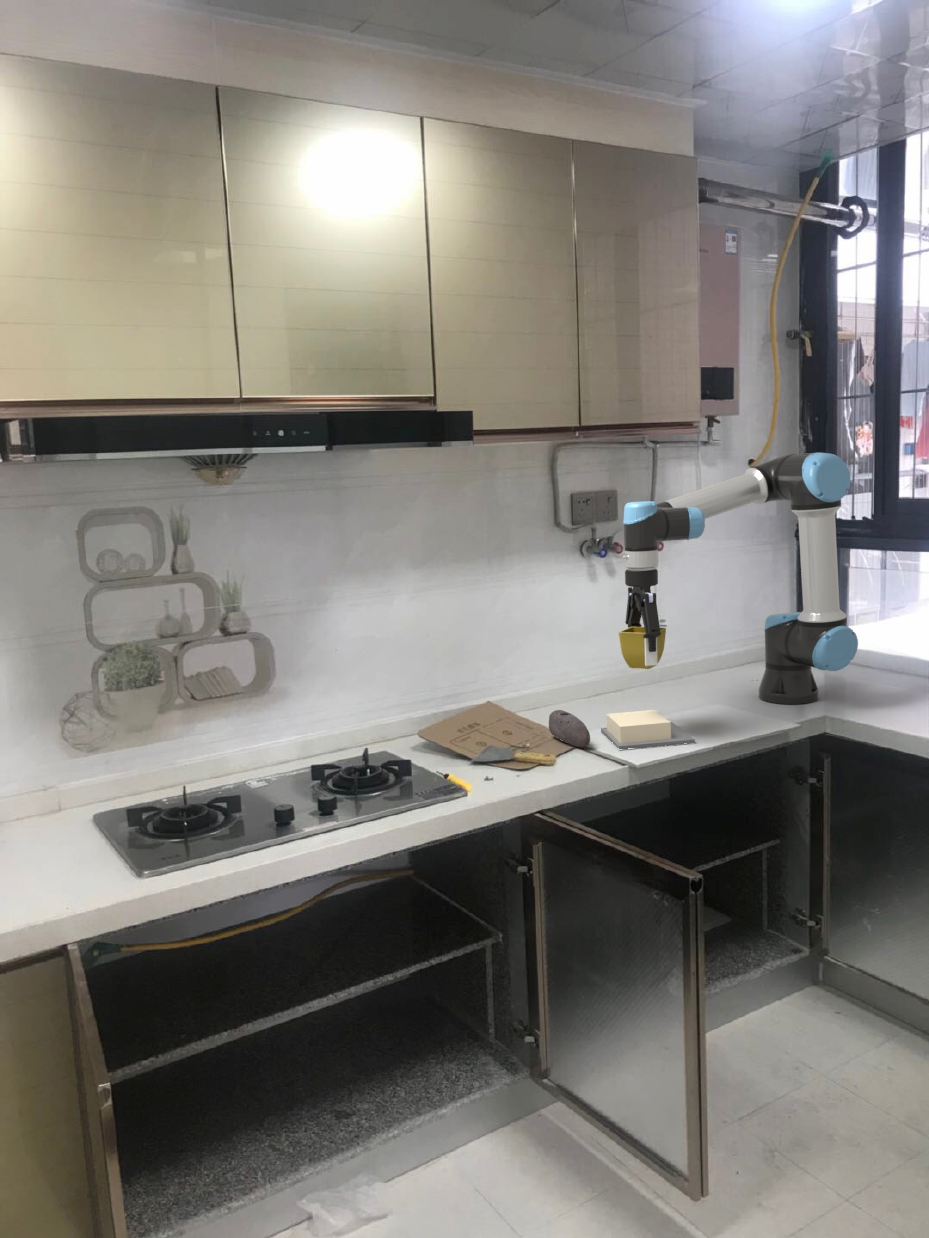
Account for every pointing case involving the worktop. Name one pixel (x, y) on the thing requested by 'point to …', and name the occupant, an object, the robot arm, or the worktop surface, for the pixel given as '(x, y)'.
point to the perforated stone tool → (568, 728)
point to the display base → (674, 739)
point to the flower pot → (638, 646)
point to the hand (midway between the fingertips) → (642, 660)
